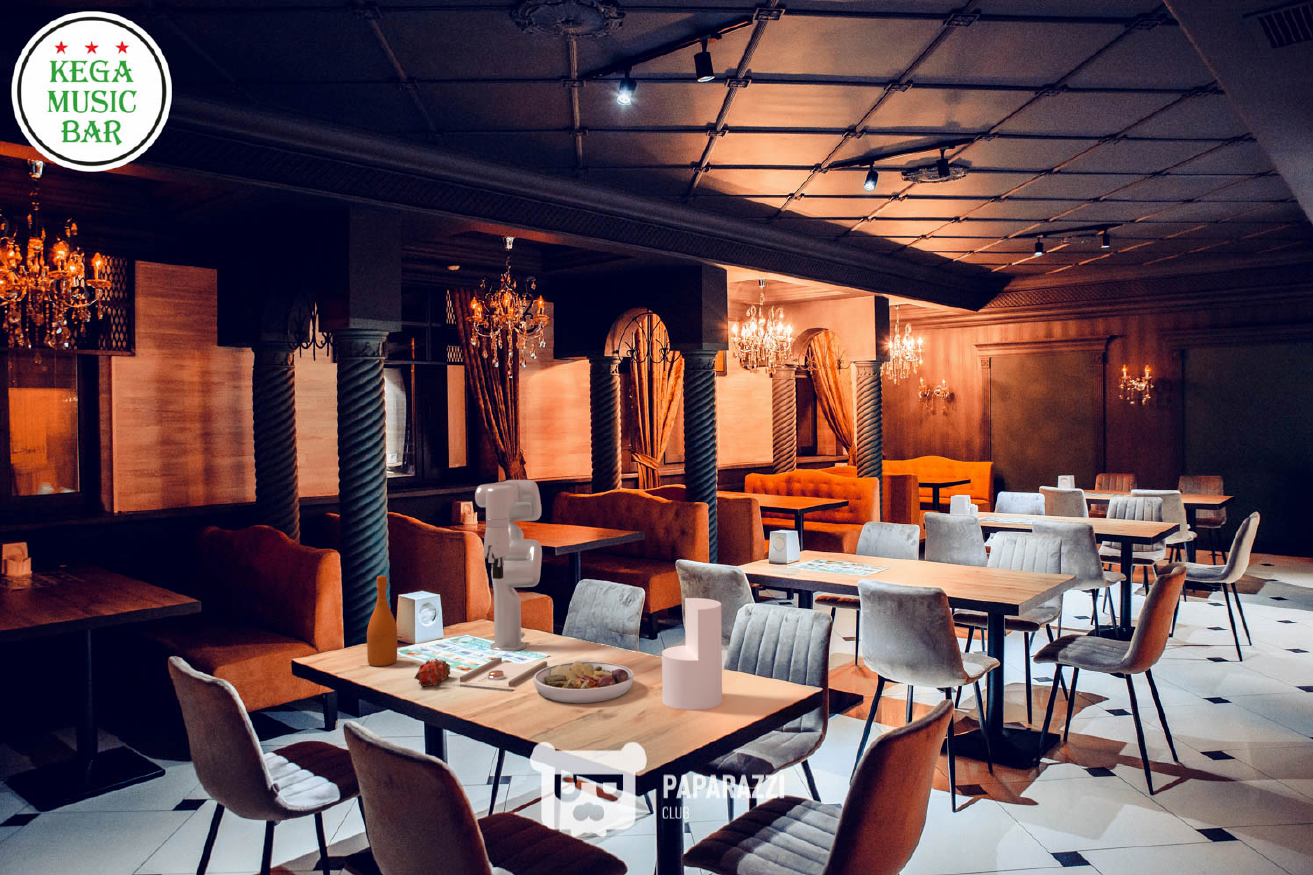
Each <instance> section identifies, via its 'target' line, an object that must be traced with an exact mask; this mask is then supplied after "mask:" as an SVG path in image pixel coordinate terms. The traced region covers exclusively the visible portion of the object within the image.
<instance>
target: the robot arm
mask: <svg viewBox="0 0 1313 875" xmlns="http://www.w3.org/2000/svg"><path fill="white" fill-rule="evenodd" d="M474 493H475V494H474V499H475V503H476V505H477V506H478V507H480V508H485V528H486V529H485V532H484V542H483V557H484V558H485V559H488V564H489V563H490V564H491V571H490V573H491V581H492V587H493V589H492V590H493V600H494V601H493V621H494V622H493V623H494V625H493V626H494V628H493V629H494V630H493V631H494V632H493V633H494V643H493V642H492V643H491V644H490V646H489V647H490V650H492V651H504V652H517V651H521V650H523V649H525V647H526V643H525V641H524V642H523V641H522V638H524V637H525V636H526V633H525V632H524V631H522V614H521V613H522V606H521V605H522V602H521V596H520V594H519V593H518V592H517V590H516V589H515V588H528V587H529V588H532V587H536V586H537V585H538V584H539V582H540V578H541V570H542V569H541V567H542V558H543V551H542V550H543V549H542V545H541V543H540V541H539V540H537V539H526V538H525V539H524V537H525V533H524V532H523V530H522V529H521V528H520V527H519V526H518V525H517V524H516V523H515V522H527V521H528V522H529V521H530V522H533V521H537V520H539V519H540V517H541V516H542V504H541V503H542V502H541V495H540V491H539V487H538V484H537V483H536V482H535V481H534V480H533V479H508V480H505V481H500V482H495V483H493V482H492V483H485V484H480V485H478V486H477V487H476V490H475V492H474Z"/></svg>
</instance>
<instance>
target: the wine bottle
mask: <svg viewBox="0 0 1313 875" xmlns="http://www.w3.org/2000/svg"><path fill="white" fill-rule="evenodd" d="M387 581H388V577H387V576H386V575H384V574H381V575H378V576H377V577H376V585H375V586H376V589H377V598H376V603H375V607H374V609H373V612H372V614H371V616H370V619H369V621H368V622H369V623H368V626H367V631H366V646H367V647H366V652H367V653H366V654H367V663H368V665H370V666H372V667H373V666H374V667H386V666H391V665H392V664H395V663H396V662H397V660H398V626H397V623H396V620H395V618H394V615H393V613H392V611H391V608H390V606H389V603H388V598H387V588H388V582H387Z"/></svg>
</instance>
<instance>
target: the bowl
mask: <svg viewBox="0 0 1313 875" xmlns="http://www.w3.org/2000/svg"><path fill="white" fill-rule="evenodd" d="M634 675H635V674H634V671H633V670H632V669H630V668H629V667H627V666H624V665H621V664H618V663H617V664H616V663H611V662H603V661H602V662H601V661H579V660H578V661H574V662H567V663H561V664H560V663H559V664H554V665H551V666H547V667H545V668H544V669H542V670H540V671H538V672H537V673H535V674H534V675H533V684H534V687H535V690H536V691H537V692H538V693H539V694H540V695H541V696H543V697H544V698H547V699H548V700H550V701H551V700H552V701H555V702H558V703H559V702H560V703H567V704H591V703H592V704H593V703H601V702H605V701H609V700H613V699H615V698H619V697H620V696H623V695H624V694H625V693H627V692H628V691H629V690H630V688H631V687H632V686H633V683H634Z"/></svg>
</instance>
